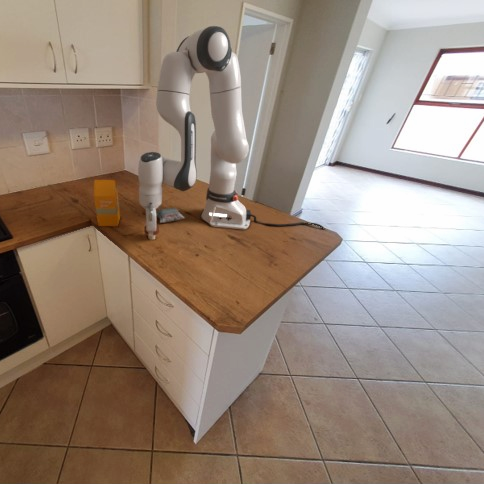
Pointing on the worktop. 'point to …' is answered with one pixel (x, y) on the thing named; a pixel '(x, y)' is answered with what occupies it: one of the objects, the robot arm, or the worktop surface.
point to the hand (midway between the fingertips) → (150, 229)
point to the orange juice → (106, 202)
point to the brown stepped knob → (153, 232)
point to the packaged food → (169, 215)
